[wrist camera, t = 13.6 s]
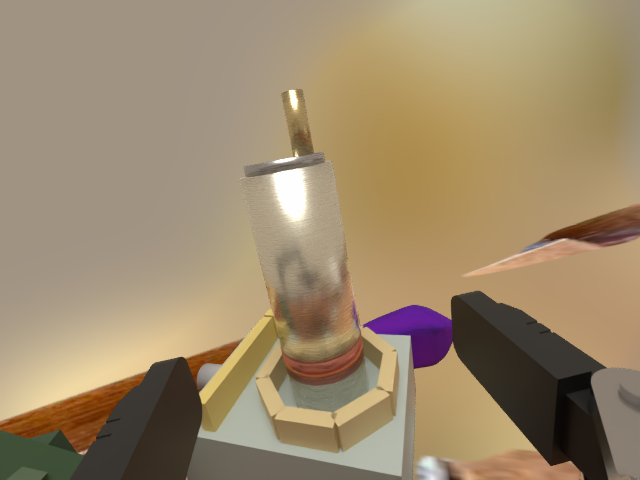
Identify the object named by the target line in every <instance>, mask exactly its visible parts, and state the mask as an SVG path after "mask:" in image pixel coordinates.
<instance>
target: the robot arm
mask: <svg viewBox="0 0 640 480" xmlns="http://www.w3.org/2000/svg"><path fill="white" fill-rule="evenodd" d="M451 315H452V337H453V344H454V348H455V350H456V353H457V355H458V357H459V358H460V360H461V361H462V362H463V363H464V365H465V366H466V367H467V368H468V370H470V372H471V373H472V374H473V375H474V377H476V379H477V380H478V381H479V382H480V384H481V385H482V386H483V387H484V388H485V389H486V391H487V392H488V393H489V394H490V395H491V396H492V398H493V399H494V400H495V401H496V402H497V403H498V405H499V406H500V407H501V408H502V409H503V411H504V412H505V413H506V414H507V415H508V416H509V418H510V419H511V420H512V421H513V422H514V423H515V425H516V426H517V427H518V428H519V429H520V430H521V432H522V433H523V434H524V435H525V436H526V438H527V439H528V440H529V441H530V442H531V443H532V444H533V446H534V447H535V448H536V449H537V450H538V452H539V453H540V454H541V455H542V456H543V457H544V459H545V460H546V461H547V462H548V463H549V464H550V466H553V465H557V464H560V463H564V462H568V461H571V462H572V463H573V464H574V465H575V466H576V467H577V468H578V469H579V470H580V475H579V480H640V371H636V370H631V369H625V368H606V367H605V366H603V365H602V364H600V363H599V362H597V361H596V360H594V359H593V358H591V357H590V356H588V355H587V354H585V353H584V352H582V351H581V350H580V349H578V348H576V347H575V346H573V345H572V344H570V343H569V342H568V341H566V340H565V339H563V338H562V337H560V336H559V335H557V334H556V333H554V332H553V333H552V332H551V331H550V329H548V328H547V327H545V326H544V325H542V324H541V323H537V321H536V320H535V319H533V318H532V317H530V316H528V315H527V314H526V313H525V312H523V311H522V310H519V309H517V308H514V307H511V306H508V305H506V304H503V303H499V304H498V303H496V302H495V301H494V300H492V299H491V298H489V297H488V296H487V295H485V294H484V293H482V292H481V291H474V292H470V293H465V294H461V295H456V296H454V297H452V299H451ZM201 422H202V402H201V398H200V395H199V393H198V390H197V387H196V385H195V382H194V379H193V376H192V374H191V371H190V368H189V366H188V363H187V361H186V359H185V358H183V357H178V358H174V359H170V360H165V361H161V362H156V363H154V364H152V366H151V367H150V369H149V371H148V372H147V374H146V376H145V377H144V379H143V381H142V383H141V384H140V385H139V386H135V387H134V388H133V389H132V390H131V391H130V392H129V393H128V394H127V395H125V396H124V397H123V398H122V399H121V400H120V401H119V402H118V403H117V405H116V406H115V408H114V410H113V411H112V413H111V414H110V416H109V418H108V419H107V421H106V425H104V426H103V427H102V429H101V430H100V432H99V434H98V435H97V437H96V441H94V442H93V443H92V445H91V446H90V448H89V449H88V451H87V453H86V454H85V456H84V457H83V459H82V461H81V462H80V464H79V465H78V467H77V469H76V470H75V472H74V473H73V475H72V476H71V478H70V480H185V479H186V476H187V472H188V469H189V465H190V461H191V458H192V454H193V451H194V447H195V444H196V440H197V436H198V433H199V429H200V426H201Z"/></svg>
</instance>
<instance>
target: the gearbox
mask: <svg viewBox="0 0 640 480" xmlns="http://www.w3.org/2000/svg"><path fill="white" fill-rule="evenodd" d="M264 316H265V317H262V319H261V320H260V321H259V322H258V323H257V325H256V326H255V327H254V328H253V329H252V330H251V331H250V332H249V333H248V334H247V336H246V337H245V338H244V339H243V341H242V342H241V343H240V344H239V345H238V347H237V348H236V349H235V350H234V351H233V353H232V354H231V355H230V356H229V358H228V359H227V360H226V361H225V362H224V364H223V365H219V364H208V363H207V364H205V365H203V366H202V367H201V369H200V370H199V372H198V376H197V385H198V387H199V388H200V389H202V390H201V391H200V393H199V395H200V398H201V402H202V422H201V426H200V429H199V433H198V436H197V440H196V444H195V447H194V451H193V454H192V458H191V461H190V465H189V469H188V472H187V477H188V479H189V480H413V458H414V428H415V397H416V395H415V394H416V388H415V378H414V367H413V356H412V346H411V336H407V335H384V334H376V333H374V332H373V331H372V330H370V329H369V328H368V327H365V328H363V326H362V325H360V321H359V314H358V311H357V316H358V322H359V328H360V330H361V336H362V342H363V348H364V358H365V364H366V370H367V376H368V383H369V388H368V392H367V393H366V394H364V395H362V396H361V397H359V398H357V399H356V400H354V401H352V402H350V403H349V404H347V405H345V406H344V407H342V408H340V409H338V410H337V411H335V412H326V411H318V410H311V409H304V408H298V406H297V405H296V403H295V400H294V396H293V392H292V388H291V384H290V380H289V376H288V373H287V371H286V367H285V363H284V359H283V355H282V351H281V344H280V340H279V336H278V332H277V328H276V324H275V320H274V316H273V312H272V310H268V311H267V312H266V314H265V315H264Z"/></svg>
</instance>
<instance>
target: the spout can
mask: <svg viewBox="0 0 640 480" xmlns="http://www.w3.org/2000/svg"><path fill="white" fill-rule="evenodd" d="M281 95H282V101H283V106H284V111H285V116H286V121H287V126H288V130H289V136H290V140H291V146H292V151H293V156H294V157H291V158H286V159H281V160H275V161H270V162H265V163H260V164H255V165H249V166H245V167H244V171H245V175H246V176H245V177H241V178H239V180H240V184H241V187H242V192H243V196H244V200H245V204H246V208H247V212H248V216H249V220H250V224H251V228H252V232H253V236H254V240H255V244H256V248H257V252H258V256H259V260H260V264H261V268H262V272H263V276H264V280H265V284H266V288H267V292H268V296H269V300H270V304H271V308H272V312H273V316H274V320H275V324H276V328H277V332H278V336H279V340H280V344H281V351H282V355H283V359H284V363H285V367H286V371H287V373H288V376H289V380H290V384H291V388H292V392H293V396H294V400H295V403H296V405H297V406H298V408H304V409H311V410H318V411H326V412H335V411H337V410H338V409H340V408H342V407H344V406H345V405H347V404H349V403H350V402H352V401H354V400H356V399H357V398H359V397H361V396H362V395H364V394H366V393H367V392H368V388H369V383H368V376H367V370H366V364H365V358H364V348H363V342H362V336H361V330H360V328H359V322H358V316H357V310H356V304H355V298H354V292H353V286H352V280H351V273H350V267H349V261H348V255H347V249H346V243H345V237H344V231H343V225H342V220H341V213H340V207H339V201H338V195H337V189H336V182H335V176H334V171H333V164H332V161H325V157H324V152H319V153H314V151H313V146H312V139H311V134H310V129H309V123H308V117H307V111H306V106H305V100H304V95H303V90H301V89H296V90H290V91H286V92H284V93H282V94H281Z"/></svg>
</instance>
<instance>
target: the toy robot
mask: <svg viewBox="0 0 640 480" xmlns="http://www.w3.org/2000/svg"><path fill="white" fill-rule="evenodd" d="M83 457H84V455H81V454H78V453H77V452H76V451H75V449H74V448H73V447H72V445H71V444H70V443H69V441H68V440H67V438H66V437H65V436H64V434H63V433H62V432H61V430H58V431H54V432H51V433H47V434H44V435H40V436H37V437H33V438H30V439H27V438H24V437H21V436H17V435H14V434H11V433H7V432H4V431H1V430H0V480H70V478H71V476H72V475H73V473H74V472H75V470H76V469H77V467H78V465H79V464H80V462H81V461H82V459H83Z"/></svg>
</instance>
